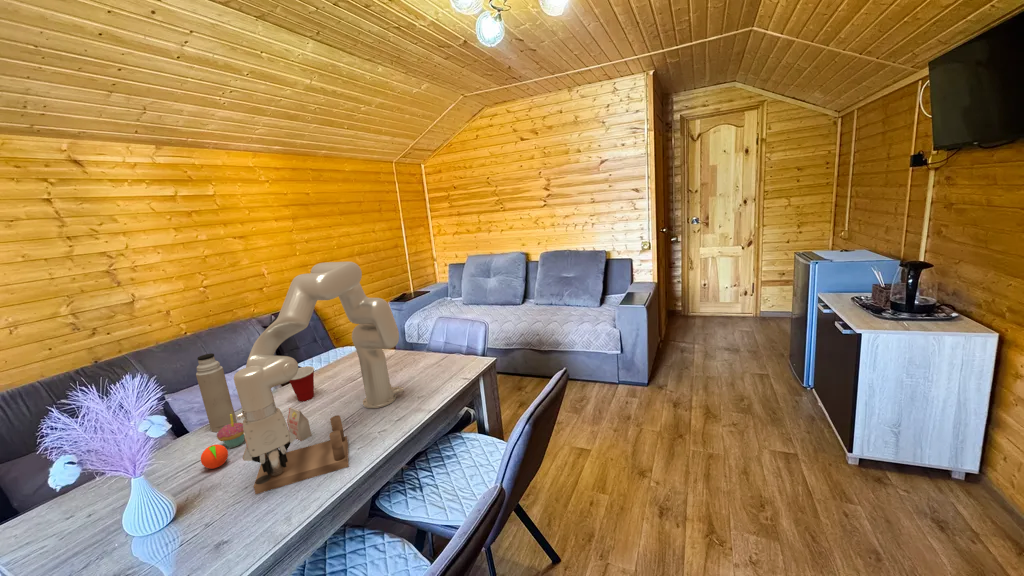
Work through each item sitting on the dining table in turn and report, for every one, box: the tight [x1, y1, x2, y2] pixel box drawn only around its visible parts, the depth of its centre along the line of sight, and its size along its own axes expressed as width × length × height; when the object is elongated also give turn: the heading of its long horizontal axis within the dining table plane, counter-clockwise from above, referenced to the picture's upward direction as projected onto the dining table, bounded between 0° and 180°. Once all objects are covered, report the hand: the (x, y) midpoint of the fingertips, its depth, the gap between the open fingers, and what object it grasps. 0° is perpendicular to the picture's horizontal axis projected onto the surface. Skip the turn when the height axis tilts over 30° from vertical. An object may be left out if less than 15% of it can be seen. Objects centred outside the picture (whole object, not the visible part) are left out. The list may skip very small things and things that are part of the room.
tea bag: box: [286, 407, 313, 442], centre depth 141 cm, size 4×7×10 cm, turn 56°
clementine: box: [200, 444, 229, 470], centre depth 128 cm, size 8×7×7 cm
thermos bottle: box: [195, 352, 238, 433], centre depth 151 cm, size 8×8×28 cm
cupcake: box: [216, 414, 245, 449], centre depth 140 cm, size 9×8×12 cm
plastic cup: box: [288, 366, 315, 403], centre depth 170 cm, size 11×11×12 cm
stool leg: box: [266, 448, 284, 476], centre depth 119 cm, size 9×3×9 cm, turn 54°
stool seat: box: [253, 415, 349, 495], centre depth 123 cm, size 24×14×10 cm, turn 112°
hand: (276, 468), depth 118 cm, fingers open, 3 cm apart
